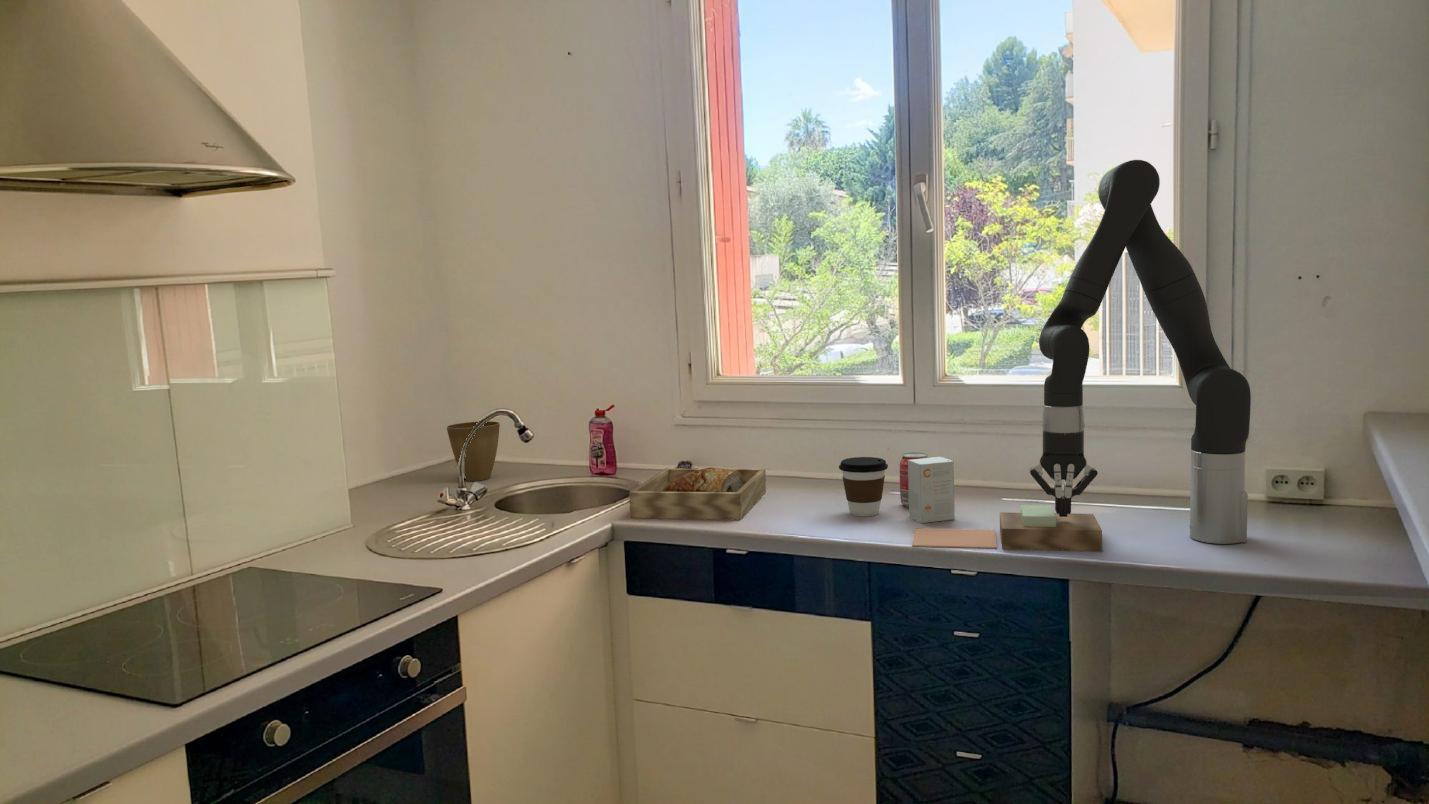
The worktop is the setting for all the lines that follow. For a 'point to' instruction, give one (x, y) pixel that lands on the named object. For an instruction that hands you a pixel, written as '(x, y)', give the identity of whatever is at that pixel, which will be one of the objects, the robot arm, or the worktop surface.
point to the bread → (706, 481)
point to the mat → (954, 538)
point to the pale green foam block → (1038, 516)
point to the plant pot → (475, 448)
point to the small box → (931, 489)
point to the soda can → (904, 474)
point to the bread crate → (696, 498)
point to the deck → (1052, 533)
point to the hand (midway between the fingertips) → (1062, 515)
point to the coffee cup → (863, 484)
